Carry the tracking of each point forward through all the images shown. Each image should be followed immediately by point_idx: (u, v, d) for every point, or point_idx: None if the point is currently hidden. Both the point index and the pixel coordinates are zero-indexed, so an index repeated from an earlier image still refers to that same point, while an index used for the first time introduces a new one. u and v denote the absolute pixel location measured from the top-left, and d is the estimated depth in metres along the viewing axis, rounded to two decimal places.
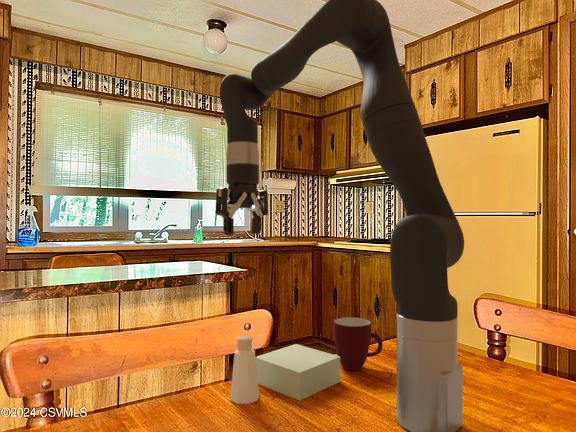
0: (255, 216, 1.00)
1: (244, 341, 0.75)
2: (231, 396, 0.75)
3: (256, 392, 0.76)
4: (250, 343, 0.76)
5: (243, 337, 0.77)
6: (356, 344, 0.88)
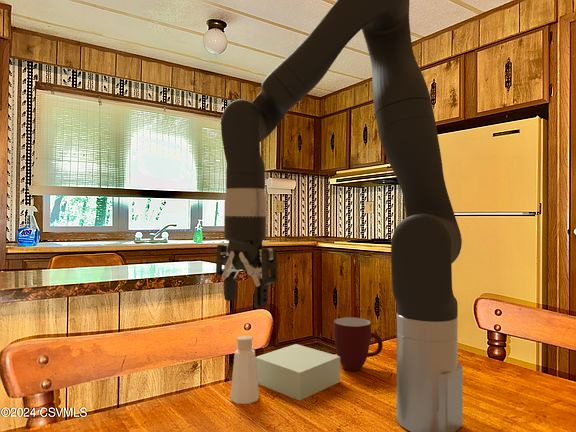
0: (230, 278, 0.80)
1: (244, 341, 0.75)
2: (231, 396, 0.75)
3: (256, 392, 0.76)
4: (250, 343, 0.76)
5: (243, 337, 0.77)
6: (356, 344, 0.88)
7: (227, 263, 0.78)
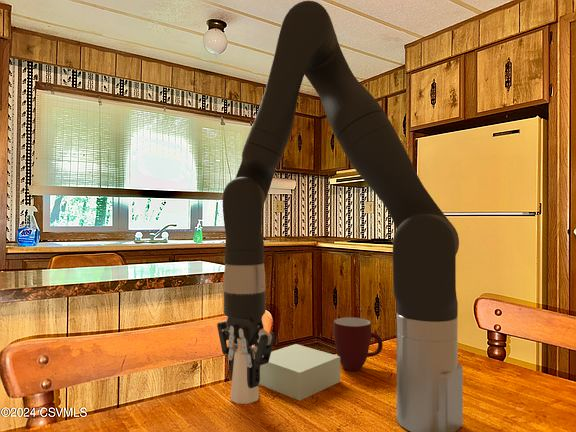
0: None
1: None
2: (231, 396, 0.75)
3: (256, 392, 0.76)
4: None
5: None
6: (356, 344, 0.88)
7: (230, 340, 0.77)
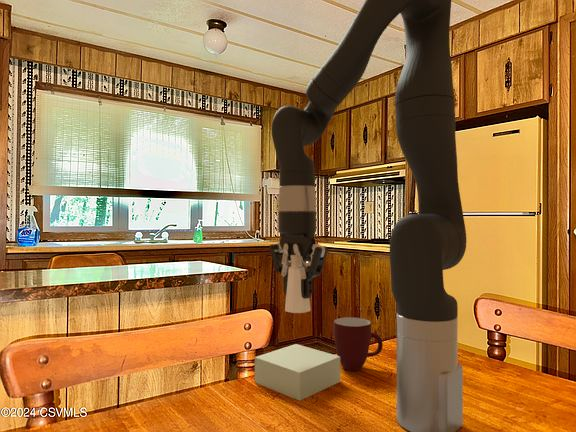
0: None
1: None
2: (286, 307, 0.83)
3: (309, 303, 0.83)
4: None
5: None
6: (356, 344, 0.88)
7: (283, 257, 0.84)
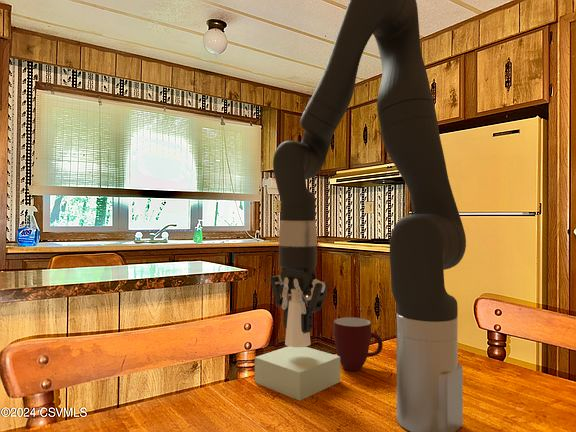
0: None
1: None
2: (286, 341, 0.83)
3: (309, 337, 0.83)
4: None
5: None
6: (356, 344, 0.88)
7: (284, 291, 0.84)
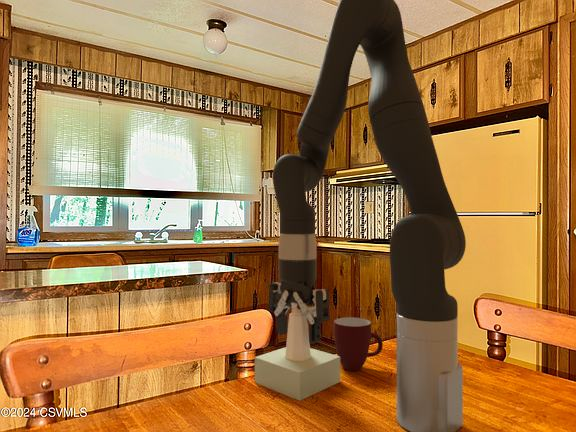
0: (282, 314, 0.87)
1: None
2: (286, 354, 0.83)
3: (309, 351, 0.83)
4: None
5: None
6: (356, 344, 0.88)
7: (280, 301, 0.85)
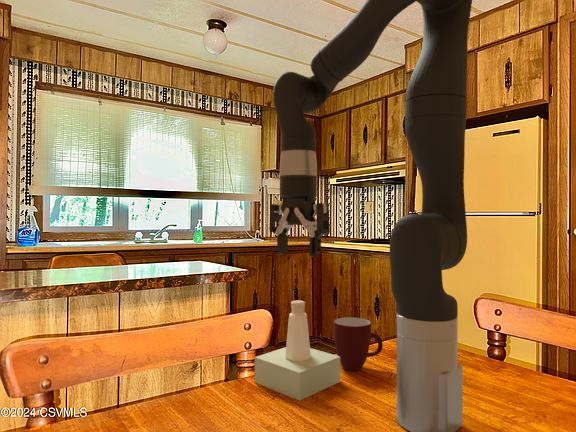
0: (283, 234, 0.88)
1: (298, 304, 0.83)
2: (286, 354, 0.83)
3: (309, 351, 0.83)
4: (303, 306, 0.83)
5: (297, 301, 0.84)
6: (356, 344, 0.88)
7: (281, 219, 0.86)
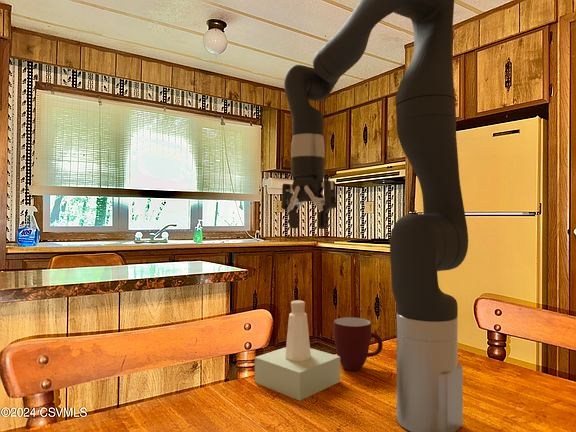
0: (294, 210, 0.98)
1: (298, 304, 0.83)
2: (286, 354, 0.83)
3: (309, 351, 0.83)
4: (303, 306, 0.83)
5: (297, 301, 0.84)
6: (356, 344, 0.88)
7: (293, 196, 0.96)
